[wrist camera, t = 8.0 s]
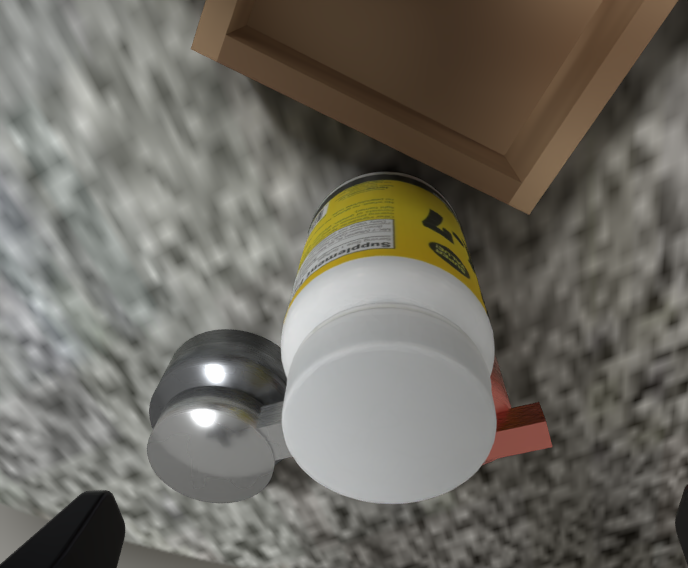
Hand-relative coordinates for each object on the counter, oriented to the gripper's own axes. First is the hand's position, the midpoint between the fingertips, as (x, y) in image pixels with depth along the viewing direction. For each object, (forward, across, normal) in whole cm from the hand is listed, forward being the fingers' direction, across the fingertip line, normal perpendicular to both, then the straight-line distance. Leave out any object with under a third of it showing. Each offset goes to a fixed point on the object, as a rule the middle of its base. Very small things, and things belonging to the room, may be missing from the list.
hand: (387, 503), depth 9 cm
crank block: (+10, +6, +6) cm, 13 cm away
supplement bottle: (+10, 0, 0) cm, 10 cm away
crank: (+8, +2, +5) cm, 9 cm away
